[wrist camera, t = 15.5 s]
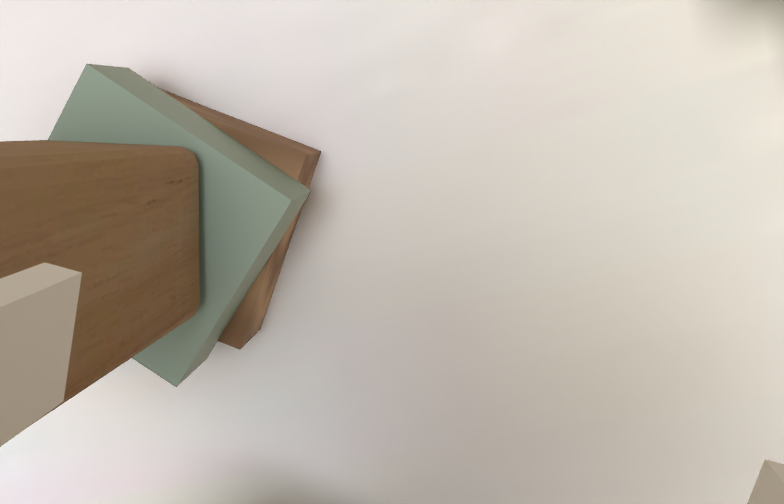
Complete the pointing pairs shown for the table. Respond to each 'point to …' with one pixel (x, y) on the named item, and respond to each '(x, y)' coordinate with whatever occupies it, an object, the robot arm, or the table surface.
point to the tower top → (216, 200)
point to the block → (106, 240)
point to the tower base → (301, 167)
